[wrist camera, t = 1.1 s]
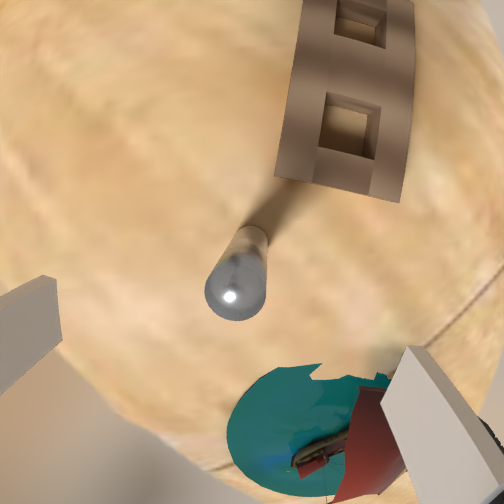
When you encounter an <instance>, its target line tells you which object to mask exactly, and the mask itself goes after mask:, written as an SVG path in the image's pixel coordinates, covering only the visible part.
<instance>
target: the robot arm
mask: <svg viewBox="0 0 504 504" xmlns="http://www.w3.org/2000/svg"><path fill="white" fill-rule="evenodd" d="M61 341H62V333H61V326H60V317H59V308H58V297H57V283H56V279H54V278H51V277H48V276H45V275H42V276H40V277H37V278H35V279H33V280H31V281H29V282H27V283H25V284H23V285H21V286H19V287H18V288H16V289H14V290H12V291H10V292H8V293H6V294H4V295H2V296H0V396H1V395H2V394H3V393H4V392H5V391H6V390H7V389H8V388H9V387H11V386H12V385H13V384H14V383H15V382H16V381H17V380H18V379H19V378H20V377H21V376H23V375H24V374H25V373H26V372H27V371H28V370H29V369H30V368H31V367H33V366H34V365H35V364H36V363H37V362H38V361H39V360H40V359H41V358H43V357H44V356H45V355H46V354H47V353H48V352H49V351H51V350H52V349H53V348H54V347H55V346H57V345H58V344H59V343H60V342H61ZM380 404H381V406H382V409H383V411H384V413H385V416H386V418H387V421H388V423H389V425H390V428H391V430H392V433H393V435H394V437H395V440H396V442H397V445H398V447H399V450H400V452H401V455H402V457H403V460H404V463H405V465H406V468H407V470H408V473H409V476H410V478H411V481H412V484H413V486H414V489H415V492H416V495H417V497H418V500H419V503H420V504H504V448H503V446H501V443H500V441H499V440H498V438H495V434H494V433H493V431H492V430H491V429H490V427H489V426H488V424H486V423H485V422H484V421H483V420H481V419H480V418H479V417H478V416H476V414H475V413H474V411H473V410H472V409H471V407H470V406H469V405H468V403H467V402H466V400H465V399H464V398H463V396H462V395H461V394H460V392H459V391H458V390H457V389H456V387H455V386H454V385H453V383H452V382H451V381H450V379H449V378H448V377H447V376H446V374H445V373H444V372H443V370H442V369H441V368H440V367H439V365H438V364H437V363H436V362H435V360H434V359H433V358H432V357H431V355H430V354H429V353H428V352H427V351H426V349H425V348H424V347H420V346H407V347H406V349H405V352H404V354H403V356H402V359H401V361H400V363H399V365H398V368H397V370H396V372H395V374H394V376H393V378H392V381H391V383H390V385H389V387H388V389H387V391H386V393H385V395H384V397H383V399H382V401H381V403H380Z"/></svg>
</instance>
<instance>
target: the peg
mask: <svg viewBox="0 0 504 504" xmlns="http://www.w3.org/2000/svg"><path fill="white" fill-rule="evenodd" d="M267 253H268V239H267V236H266V234H265V233H264V231H263V230H262V229H260V228H259V227H256V226H252V225H249V226H244V227H242V228H241V229H239V230H238V231H237V233H236V234H235V236H234V237H233V239H232V240H231V242H230V244H229V245H228V247H227V248H226V250H225V251H224V253H223V255H222V256H221V258H220V259H219V261H218V263H217V264H216V266H215V267H214V269H213V271H212V272H211V274H210V275H209V277H208V279H207V281H206V284H205V298H206V301H207V303H208V305H209V307H210V308H211V309H212V310H213V312H215V313H216V314H217V315H219V316H220V317H222V318H224V319H227V320H232V321H242V320H246V319H249V318H251V317H253V316H254V315H256V314H257V313H258V312H259V311H260V310H261V308H262V307H263V305H264V302H265V298H266V280H267Z"/></svg>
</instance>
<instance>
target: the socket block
mask: <svg viewBox="0 0 504 504" xmlns="http://www.w3.org/2000/svg"><path fill="white" fill-rule="evenodd" d="M336 16H338V17H342V18H345V19H349V20H353V21H356V22H360V23H363V24H366V25H370V26H373V27H375V43H374V45H371V44H368V43H364V42H361V41H358V40H354V39H351V38H347V37H343V36H339V35H335V34H334V26H335V17H336ZM414 75H415V25H414V6H413V2H411V1H409V0H303V6H302V13H301V19H300V25H299V31H298V37H297V44H296V50H295V56H294V62H293V68H292V74H291V80H290V86H289V92H288V98H287V104H286V110H285V115H284V121H283V127H282V133H281V139H280V145H279V151H278V156H277V162H276V168H275V174H274V176H276V177H282V178H287V179H292V180H298V181H303V182H308V183H313V184H317V185H322V186H327V187H331V188H336V189H340V190H345V191H349V192H353V193H358V194H362V195H366V196H370V197H374V198H378V199H382V200H386V201H391V202H396V203H399V202H400V197H401V191H402V186H403V180H404V174H405V168H406V161H407V154H408V147H409V139H410V130H411V120H412V109H413V95H414ZM325 104H328V105H332V106H337V107H341V108H344V109H348V110H352V111H356V112H359V113H363V114H366V115H368V119H367V126H366V134H365V141H364V147H363V154H362V157H360V156H356V155H352V154H348V153H344V152H340V151H336V150H332V149H327V148H323V147H318V143H319V137H320V131H321V124H322V118H323V111H324V105H325Z"/></svg>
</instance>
